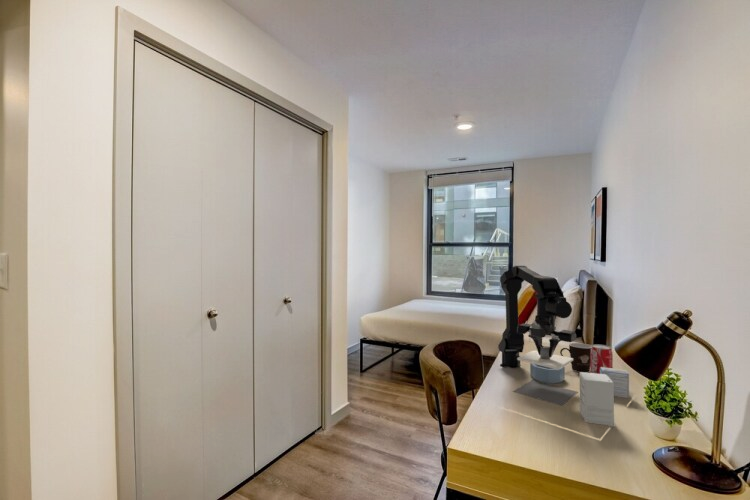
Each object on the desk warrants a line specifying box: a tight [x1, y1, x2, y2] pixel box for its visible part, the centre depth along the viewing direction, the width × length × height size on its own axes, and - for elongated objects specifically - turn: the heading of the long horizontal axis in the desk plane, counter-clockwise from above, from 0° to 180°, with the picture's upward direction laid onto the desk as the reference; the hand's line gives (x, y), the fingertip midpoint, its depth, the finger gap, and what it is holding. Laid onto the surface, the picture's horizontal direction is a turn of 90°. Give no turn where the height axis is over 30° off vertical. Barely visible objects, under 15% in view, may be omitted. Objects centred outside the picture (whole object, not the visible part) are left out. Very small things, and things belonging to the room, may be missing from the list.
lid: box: [517, 345, 573, 370], centre depth 130 cm, size 14×14×5 cm
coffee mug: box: [559, 342, 592, 373], centre depth 151 cm, size 12×9×10 cm
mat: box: [512, 379, 579, 407], centre depth 125 cm, size 16×16×1 cm
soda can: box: [589, 343, 614, 374], centre depth 138 cm, size 7×7×13 cm
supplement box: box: [579, 372, 615, 428], centre depth 105 cm, size 7×7×13 cm
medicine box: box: [600, 367, 630, 399], centre depth 124 cm, size 8×4×9 cm, turn 65°
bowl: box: [529, 363, 566, 384], centre depth 139 cm, size 11×11×6 cm
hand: (545, 356), depth 130 cm, fingers closed on lid, 3 cm apart
